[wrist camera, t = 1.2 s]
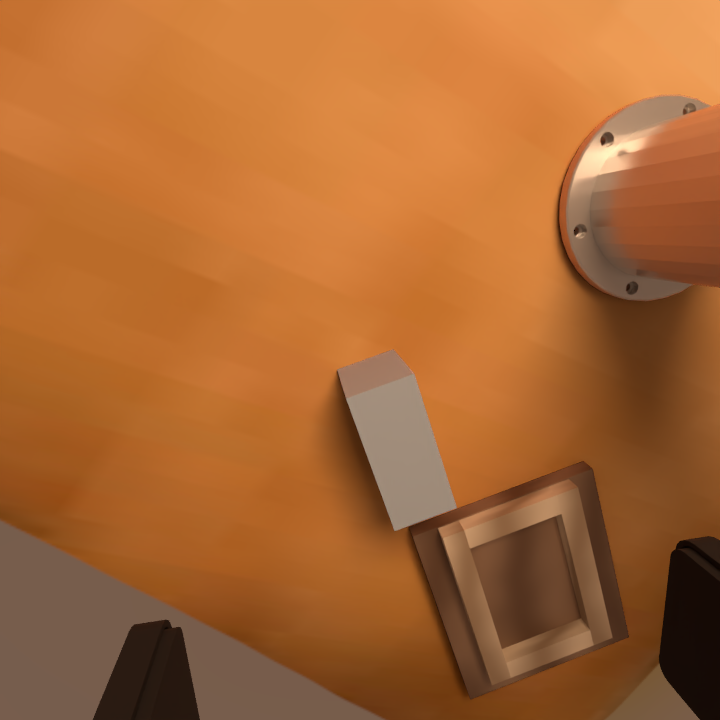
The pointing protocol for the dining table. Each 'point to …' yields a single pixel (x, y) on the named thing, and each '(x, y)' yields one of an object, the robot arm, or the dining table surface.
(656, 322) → the dining table surface
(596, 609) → the jig
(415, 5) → the dining table surface
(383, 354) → the grey rectangular block
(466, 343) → the dining table surface
